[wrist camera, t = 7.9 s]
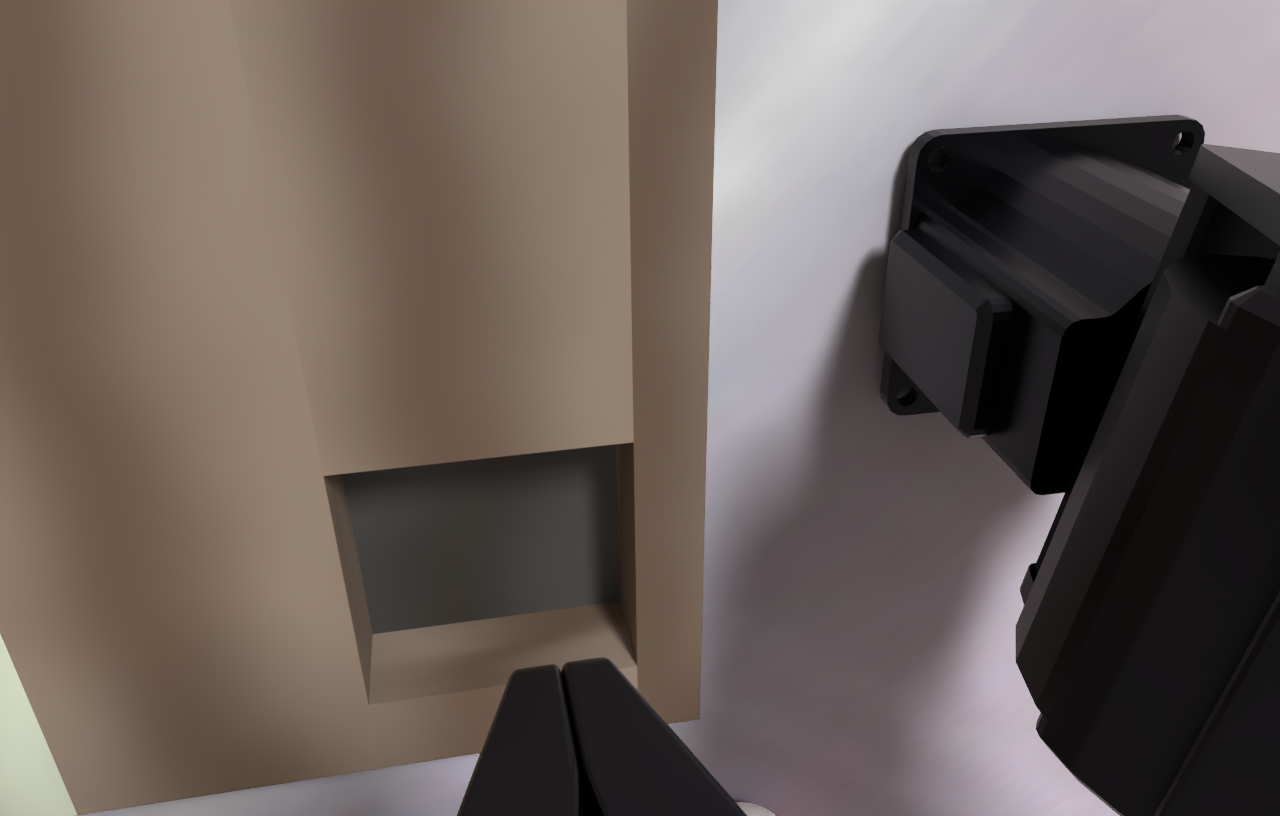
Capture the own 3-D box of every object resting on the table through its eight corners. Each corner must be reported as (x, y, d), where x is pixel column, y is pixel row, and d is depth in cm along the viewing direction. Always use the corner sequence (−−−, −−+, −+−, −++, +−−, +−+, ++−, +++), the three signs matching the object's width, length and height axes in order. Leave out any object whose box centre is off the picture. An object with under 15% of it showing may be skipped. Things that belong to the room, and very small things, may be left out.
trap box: (684, -131, 18) (758, -123, 14) (676, 647, 26) (720, 785, 23) (-941, -103, 14) (-1462, -81, 10) (-316, 789, 23) (-467, 982, 19)
